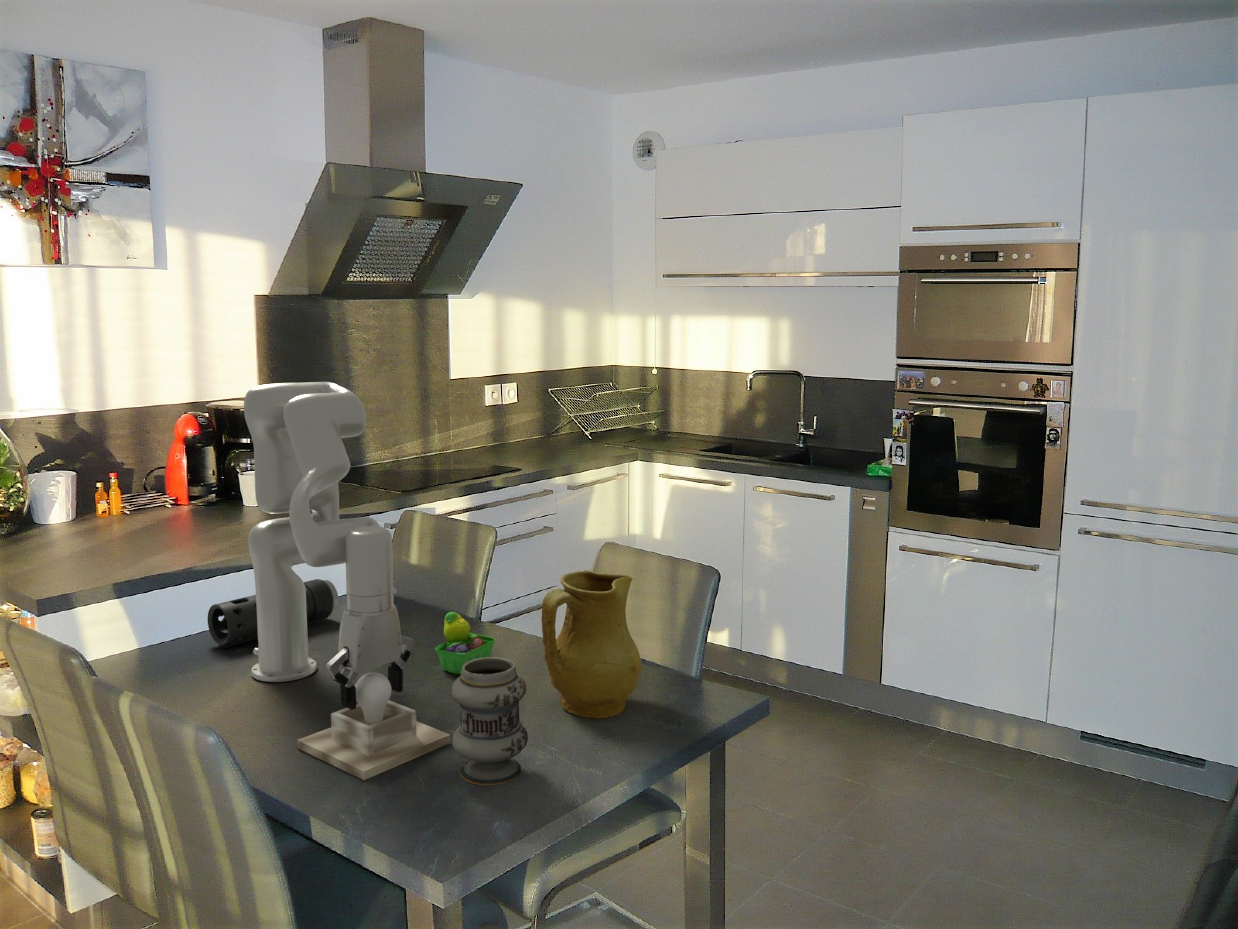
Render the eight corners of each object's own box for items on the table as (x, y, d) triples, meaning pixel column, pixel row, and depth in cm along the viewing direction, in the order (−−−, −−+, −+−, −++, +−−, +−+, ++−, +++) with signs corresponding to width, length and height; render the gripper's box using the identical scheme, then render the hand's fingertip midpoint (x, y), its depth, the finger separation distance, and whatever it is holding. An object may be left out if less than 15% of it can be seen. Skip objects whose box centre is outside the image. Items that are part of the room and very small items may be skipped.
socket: (297, 748, 171) (296, 714, 170) (383, 715, 185) (382, 684, 184) (364, 780, 160) (363, 744, 159) (450, 743, 174) (449, 709, 173)
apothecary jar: (463, 753, 170) (462, 650, 167) (534, 757, 169) (534, 653, 166) (443, 787, 158) (442, 677, 155) (519, 791, 157) (519, 680, 154)
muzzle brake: (207, 645, 222) (205, 599, 220) (317, 615, 243) (316, 573, 242) (231, 654, 216) (228, 608, 214) (341, 623, 237) (340, 581, 236)
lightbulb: (395, 727, 175) (394, 667, 174) (388, 742, 169) (387, 680, 168) (360, 727, 175) (358, 667, 174) (351, 743, 169) (349, 680, 168)
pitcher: (644, 723, 183) (647, 589, 179) (541, 725, 181) (541, 590, 177) (636, 688, 200) (638, 564, 196) (541, 689, 198) (541, 565, 194)
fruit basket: (463, 678, 204) (462, 624, 202) (429, 670, 208) (427, 617, 206) (497, 661, 213) (496, 610, 212) (463, 654, 218) (463, 603, 216)
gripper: (397, 585, 177) (398, 678, 180) (312, 608, 164) (315, 708, 167) (425, 594, 173) (426, 689, 176) (340, 618, 159) (343, 720, 162)
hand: (372, 698), depth 171 cm, fingers open, 9 cm apart
